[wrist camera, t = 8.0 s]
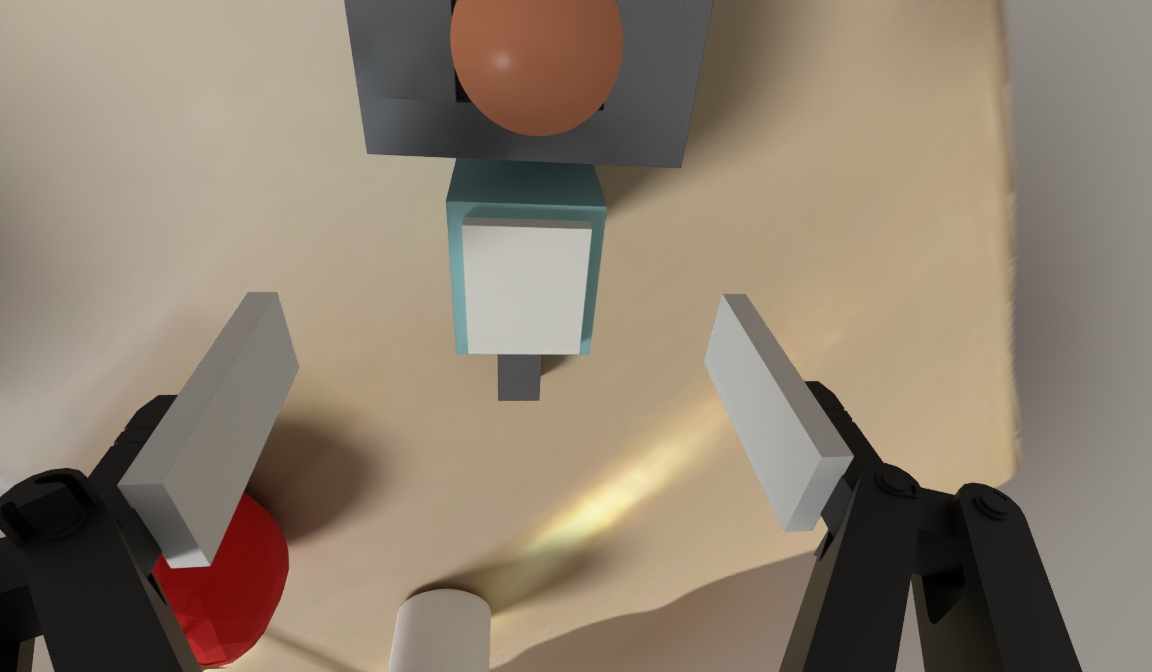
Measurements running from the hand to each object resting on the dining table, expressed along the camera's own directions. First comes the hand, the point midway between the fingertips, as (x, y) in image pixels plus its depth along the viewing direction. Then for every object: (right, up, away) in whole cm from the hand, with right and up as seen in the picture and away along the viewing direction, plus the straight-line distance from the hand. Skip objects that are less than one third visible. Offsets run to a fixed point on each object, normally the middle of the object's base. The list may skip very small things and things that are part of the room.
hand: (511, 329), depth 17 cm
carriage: (-1, +7, +10) cm, 12 cm away
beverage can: (-10, -24, +33) cm, 42 cm away
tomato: (-23, -13, +22) cm, 35 cm away
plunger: (+1, +9, -1) cm, 9 cm away
